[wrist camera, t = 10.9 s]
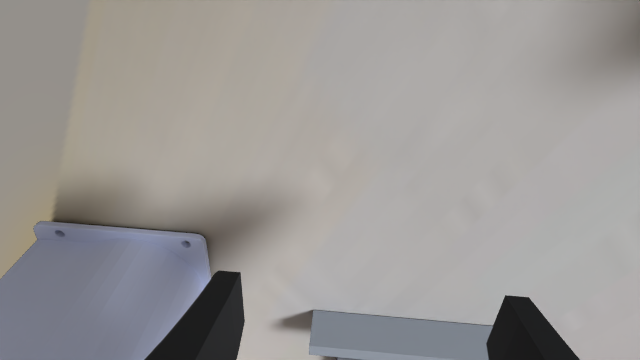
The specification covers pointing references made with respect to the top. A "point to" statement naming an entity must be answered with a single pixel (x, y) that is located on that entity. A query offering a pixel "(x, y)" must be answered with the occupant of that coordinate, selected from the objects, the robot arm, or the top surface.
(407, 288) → the top surface
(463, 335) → the low wall
